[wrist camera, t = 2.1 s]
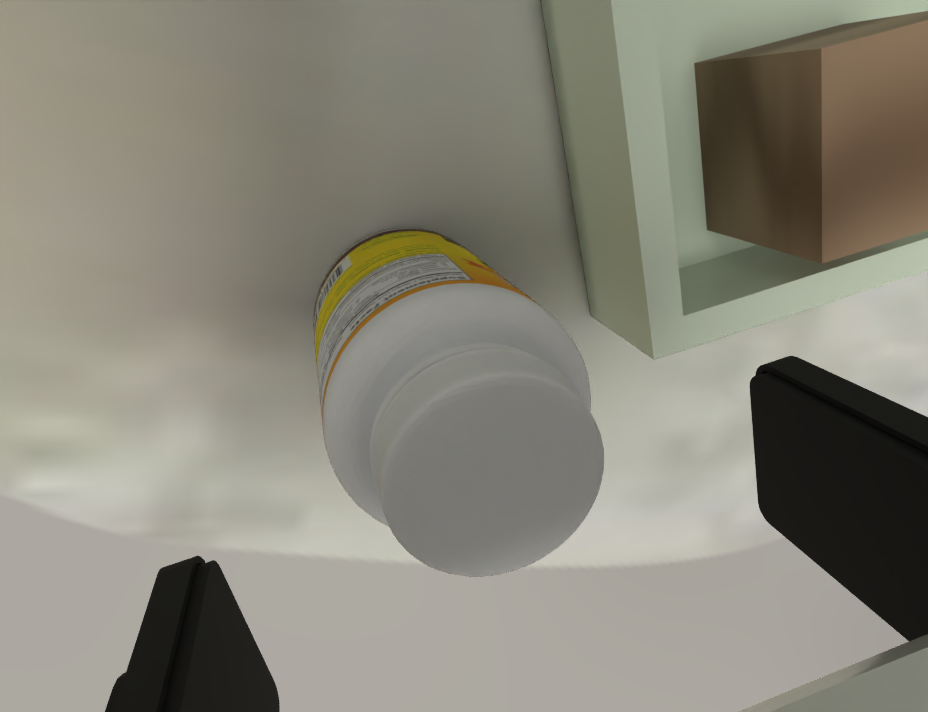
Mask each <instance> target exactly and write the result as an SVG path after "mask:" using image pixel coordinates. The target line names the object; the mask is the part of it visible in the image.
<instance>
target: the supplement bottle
mask: <svg viewBox="0 0 928 712" xmlns="http://www.w3.org/2000/svg"><path fill="white" fill-rule="evenodd" d="M314 336H315V350H316V362H317V373H318V382H319V392H320V402H321V414H322V423H323V433H324V440H325V445H326V449H327V452H328V456H329V459H330V462H331V465H332V467H333V469H334V472H335V474H336V476H337V478H338V480H339V481H340V483H341V485H342V486H343V488H344V489H345V490H346V492H347V493H348V495H349V496H350V497H351V498H352V499H353V500H354V501H355V503H356V504H357V505H358V506H359V507H360V508H362V509H363V510H364V511H365V512H367V513H368V514H369V515H371V516H372V517H374V518H375V519H377V520H378V521H380V522H381V523H383V524H385V525H387V526H389V527H390V529H391V530H392V532H393V534H394V536H395V537H396V539H397V540H398V541H399V543H400V544H401V545H402V546H403V547H404V548H405V549H406V550H407V551H408V552H409V553H410V554H411V555H412V556H414V557H415V558H416V559H418V560H419V561H421V562H423V563H424V564H426V565H428V566H429V567H432V568H434V569H437V570H439V571H443V572H446V573H449V574H455V575H462V576H469V577H482V576H493V575H499V574H503V573H507V572H511V571H514V570H517V569H520V568H522V567H525V566H528V565H530V564H532V563H534V562H536V561H538V560H540V559H541V558H543V557H545V556H546V555H548V554H549V553H551V552H552V551H553V550H555V549H556V548H558V547H559V546H560V545H561V544H562V543H564V542H565V541H566V540H567V539H568V538H569V537H570V536H571V535H572V534H573V533H574V532H575V531H576V529H577V528H578V527H579V526H580V524H581V523H582V522H583V520H584V519H585V517H586V516H587V514H588V512H589V511H590V509H591V507H592V505H593V503H594V501H595V499H596V496H597V494H598V491H599V488H600V484H601V481H602V475H603V470H604V449H603V444H602V439H601V434H600V432H599V429H598V427H597V424H596V422H595V420H594V418H593V416H592V414H591V413H590V407H591V396H590V386H589V379H588V375H587V371H586V367H585V364H584V361H583V359H582V357H581V354H580V352H579V350H578V348H577V347H576V345H575V343H574V341H573V340H572V338H571V337H570V335H569V334H568V333H567V331H566V330H565V329H564V328H563V326H562V325H561V324H560V323H559V322H558V321H557V320H556V319H555V318H554V317H553V316H552V315H551V314H550V313H548V312H547V311H546V310H545V309H543V308H542V307H541V306H540V305H539V304H537V303H536V302H535V301H533V300H532V299H531V298H529V297H528V296H527V295H525V294H524V293H523V292H522V291H520V290H519V289H518V288H516V287H515V286H514V285H512V284H511V283H510V282H508V281H507V280H506V279H504V278H503V277H502V276H500V275H499V274H498V273H497V272H495V271H494V270H493V269H491V268H490V267H489V266H488V265H487V264H485V263H483V262H482V261H481V260H480V259H479V258H477V257H476V256H475V255H473V254H472V253H471V252H470V251H468V250H467V249H466V248H464V247H463V246H461V245H460V244H458V243H457V242H455V241H453V240H452V239H450V238H448V237H446V236H444V235H441V234H439V233H436V232H433V231H429V230H424V229H416V228H398V229H391V230H386V231H382V232H379V233H376V234H373V235H371V236H368V237H366V238H364V239H362V240H361V241H359V242H357V243H356V244H354V245H353V246H352V247H350V248H349V249H348V250H346V251H345V252H344V253H343V254H342V255H341V256H340V257H339V258H338V259H337V260H336V261H335V263H334V264H333V265H332V266H331V268H330V269H329V271H328V272H327V274H326V276H325V277H324V279H323V281H322V284H321V286H320V288H319V291H318V294H317V298H316V303H315V309H314Z"/></svg>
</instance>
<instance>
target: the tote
mask: <svg viewBox="0 0 928 712" xmlns="http://www.w3.org/2000/svg"><path fill="white" fill-rule="evenodd" d="M541 4H542V10H543V17H544V23H545V29H546V36H547V42H548V48H549V55H550V61H551V67H552V74H553V80H554V86H555V93H556V99H557V105H558V111H559V118H560V124H561V130H562V137H563V143H564V149H565V156H566V162H567V168H568V175H569V181H570V187H571V194H572V200H573V206H574V213H575V219H576V225H577V231H578V238H579V244H580V250H581V257H582V263H583V269H584V276H585V282H586V288H587V295H588V301H589V307H590V314H591V316H592V317H593V318H595V319H596V320H598V321H599V322H600V323H602V324H603V325H605V326H606V327H608V328H609V329H610V330H612V331H613V332H615V333H616V334H618V335H619V336H621V337H622V338H623V339H625V340H626V341H628V342H629V343H631V344H632V345H634V346H635V347H636V348H638V349H639V350H641V351H642V352H644V353H645V354H646V355H648V356H649V357H651V358H652V359H654V360H655V359H658V358H661V357H664V356H667V355H670V354H673V353H676V352H679V351H682V350H685V349H688V348H691V347H694V346H697V345H700V344H703V343H706V342H709V341H713V340H716V339H719V338H722V337H725V336H728V335H731V334H734V333H737V332H740V331H743V330H746V329H749V328H752V327H755V326H758V325H761V324H764V323H767V322H770V321H773V320H776V319H780V318H783V317H786V316H789V315H792V314H795V313H798V312H801V311H804V310H807V309H810V308H813V307H816V306H819V305H822V304H825V303H828V302H831V301H834V300H837V299H840V298H843V297H847V296H850V295H853V294H856V293H859V292H862V291H865V290H868V289H871V288H874V287H877V286H880V285H883V284H886V283H889V282H892V281H895V280H898V279H901V278H904V277H907V276H910V275H914V274H917V273H920V272H923V271H926V270H928V230H926V231H923V232H920V233H917V234H914V235H911V236H908V237H904V238H901V239H898V240H895V241H892V242H889V243H886V244H883V245H879V246H876V247H873V248H870V249H867V250H864V251H861V252H857V253H854V254H851V255H848V256H845V257H842V258H839V259H835V260H832V261H829V262H826V263H823V264H822V263H818V262H815V261H811V260H808V259H804V258H801V257H798V256H794V255H791V254H787V253H784V252H780V251H777V250H774V249H770V248H767V247H763V246H760V245H757V244H753V243H750V242H746V241H743V240H739V239H736V238H733V237H729V236H726V235H722V234H719V233H715V232H712V231H709V230H707V225H706V212H705V199H704V186H703V173H702V159H701V146H700V133H699V120H698V107H697V94H696V81H695V68H694V63H697V62H700V61H704V60H708V59H712V58H716V57H719V56H723V55H727V54H731V53H735V52H739V51H742V50H746V49H750V48H754V47H758V46H761V45H765V44H769V43H773V42H777V41H780V40H784V39H788V38H792V37H796V36H800V35H803V34H807V33H811V32H815V31H819V30H822V29H826V28H830V27H834V26H838V25H841V24H846V23H853V22H859V21H866V20H872V19H879V18H885V17H892V16H898V15H905V14H911V13H917V12H924V11H928V0H541Z"/></svg>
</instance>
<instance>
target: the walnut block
mask: <svg viewBox="0 0 928 712" xmlns="http://www.w3.org/2000/svg"><path fill="white" fill-rule="evenodd" d="M694 68H695V81H696V94H697V107H698V120H699V133H700V146H701V159H702V173H703V186H704V199H705V212H706V225H707V230H709V231H712V232H715V233H719V234H722V235H726V236H729V237H733V238H736V239H739V240H743V241H746V242H750V243H753V244H757V245H760V246H763V247H767V248H770V249H774V250H777V251H780V252H784V253H787V254H791V255H794V256H798V257H801V258H804V259H808V260H811V261H815V262H818V263H822V264H823V263H826V262H829V261H832V260H835V259H839V258H842V257H845V256H848V255H851V254H854V253H857V252H861V251H864V250H867V249H870V248H873V247H876V246H879V245H883V244H886V243H889V242H892V241H895V240H898V239H901V238H904V237H908V236H911V235H914V234H917V233H920V232H923V231H926V230H928V11H924V12H917V13H911V14H905V15H898V16H892V17H885V18H879V19H872V20H866V21H859V22H853V23H846V24H841V25H838V26H834V27H830V28H826V29H822V30H819V31H815V32H811V33H807V34H803V35H800V36H796V37H792V38H788V39H784V40H780V41H777V42H773V43H769V44H765V45H761V46H758V47H754V48H750V49H746V50H742V51H739V52H735V53H731V54H727V55H723V56H719V57H716V58H712V59H708V60H704V61H700V62H697V63H694Z"/></svg>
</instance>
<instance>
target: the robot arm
mask: <svg viewBox="0 0 928 712" xmlns="http://www.w3.org/2000/svg"><path fill="white" fill-rule="evenodd" d="M750 397H751V411H752V424H753V438H754V452H755V465H756V479H757V493H758V504H759V508H760V510H761V513H762V515H763V516H764V518H765V519H766V521H767V522H768V523H769V524H770V525H772V526H773V527H774V528H775V529H776V530H777V531H779V532H780V533H781V534H782V535H783V536H785V537H786V538H787V539H788V540H789V541H791V542H792V543H793V544H794V545H795V546H796V547H798V548H799V549H800V550H801V551H803V552H804V553H805V554H806V555H807V556H808V557H810V558H811V559H812V560H813V561H814V562H816V563H817V564H818V565H819V566H820V567H821V568H823V569H824V570H825V571H826V572H827V573H829V574H830V575H831V576H832V577H833V578H835V579H836V580H837V581H838V582H839V583H841V584H842V585H843V586H844V587H845V588H846V589H848V590H849V591H850V592H851V593H852V594H854V595H855V596H856V597H857V598H858V599H859V600H861V601H862V602H863V603H864V604H865V605H867V606H868V607H869V608H870V609H871V610H873V611H874V612H875V613H876V614H877V615H878V616H880V617H881V618H882V619H883V620H885V621H886V622H887V623H888V624H889V625H890V626H892V627H893V628H894V629H895V630H896V631H897V632H899V633H900V634H901V635H902V636H903V637H905V638H906V639H907V640H908V641H909V642H907V643H905V644H902V645H900V646H897V647H895V648H892V649H890V650H888V651H885V652H883V653H880V654H878V655H875V656H873V657H871V658H868V659H866V660H863V661H861V662H858V663H856V664H853V665H851V666H848V667H846V668H844V669H841V670H839V671H837V672H834V673H831V674H829V675H827V676H824V677H822V678H819V679H817V680H814V681H812V682H809V683H807V684H805V685H802V686H800V687H797V688H795V689H793V690H790V691H788V692H785V693H783V694H781V695H778V696H776V697H773V698H771V699H768V700H766V701H764V702H761V703H759V704H757V705H754V706H752V707H749V708H747V709H744V710H742V711H740V712H928V417H926V416H924V415H922V414H919V413H917V412H915V411H913V410H911V409H908V408H906V407H904V406H902V405H900V404H898V403H895V402H893V401H891V400H889V399H887V398H885V397H882V396H880V395H878V394H876V393H874V392H872V391H869V390H867V389H865V388H863V387H861V386H859V385H856V384H854V383H852V382H850V381H848V380H845V379H843V378H841V377H839V376H837V375H835V374H832V373H830V372H828V371H826V370H824V369H822V368H819V367H817V366H815V365H813V364H811V363H809V362H806V361H804V360H802V359H800V358H798V357H794V356H789V357H785V358H782V359H779V360H776V361H773V362H770V363H767V364H764V365H761V366H760V367H759V368H758V369H757V371H756V376H755V377H753V378H752V379H751V381H750ZM105 712H279V697H278V692H277V688H276V685H275V682H274V680H273V678H272V676H271V674H270V671H269V670H268V667H267V665H266V663H265V661H264V659H263V657H262V655H261V653H260V650H259V648H258V646H257V644H256V642H255V640H254V638H253V636H252V634H251V631H250V629H249V627H248V625H247V623H246V621H245V619H244V617H243V615H242V612H241V610H240V609H239V606H238V604H237V602H236V600H235V598H234V596H233V593H232V591H231V589H230V587H229V585H228V583H227V581H226V579H225V577H224V574H223V572H222V570H221V568H220V566H219V565H218V563H217V562H216V561H214V560H213V561H210V562H207V563H205V561H204V560H203V559H202V558H201V557H200V556H196V557H193V558H190V559H187V560H184V561H181V562H178V563H175V564H172V565H169V566H166V567H163V568H161V569H160V570H159V572H158V575H157V578H156V581H155V584H154V587H153V590H152V593H151V596H150V599H149V603H148V606H147V609H146V612H145V615H144V618H143V622H142V625H141V628H140V631H139V634H138V637H137V640H136V643H135V647H134V650H133V653H132V656H131V659H130V662H129V665H128V669H127V672H126V673H123V674H122V675H121V676H120V677H119V678H118V679H117V681H116V683H115V685H114V687H113V689H112V692H111V695H110V698H109V701H108V704H107V707H106V710H105Z"/></svg>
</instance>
